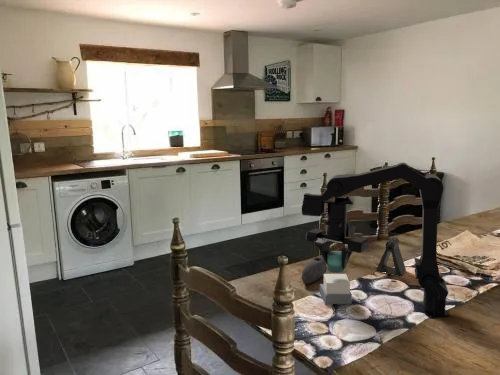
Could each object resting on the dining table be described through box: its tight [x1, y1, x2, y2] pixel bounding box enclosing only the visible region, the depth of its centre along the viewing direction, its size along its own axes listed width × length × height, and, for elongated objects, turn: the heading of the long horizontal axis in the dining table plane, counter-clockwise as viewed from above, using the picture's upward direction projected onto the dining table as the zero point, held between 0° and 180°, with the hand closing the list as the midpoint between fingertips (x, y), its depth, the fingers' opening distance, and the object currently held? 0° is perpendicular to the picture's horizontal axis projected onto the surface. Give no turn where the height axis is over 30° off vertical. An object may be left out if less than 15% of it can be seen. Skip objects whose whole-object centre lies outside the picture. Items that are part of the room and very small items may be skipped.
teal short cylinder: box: [326, 250, 346, 274], centre depth 122 cm, size 5×5×5 cm
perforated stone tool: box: [301, 254, 328, 285], centre depth 138 cm, size 15×5×7 cm, turn 141°
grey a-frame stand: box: [375, 237, 407, 277], centre depth 144 cm, size 9×6×12 cm, turn 54°
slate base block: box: [319, 283, 353, 306], centre depth 124 cm, size 8×8×4 cm
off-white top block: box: [323, 273, 351, 294], centre depth 124 cm, size 7×7×4 cm
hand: (335, 266), depth 123 cm, fingers closed on teal short cylinder, 5 cm apart
